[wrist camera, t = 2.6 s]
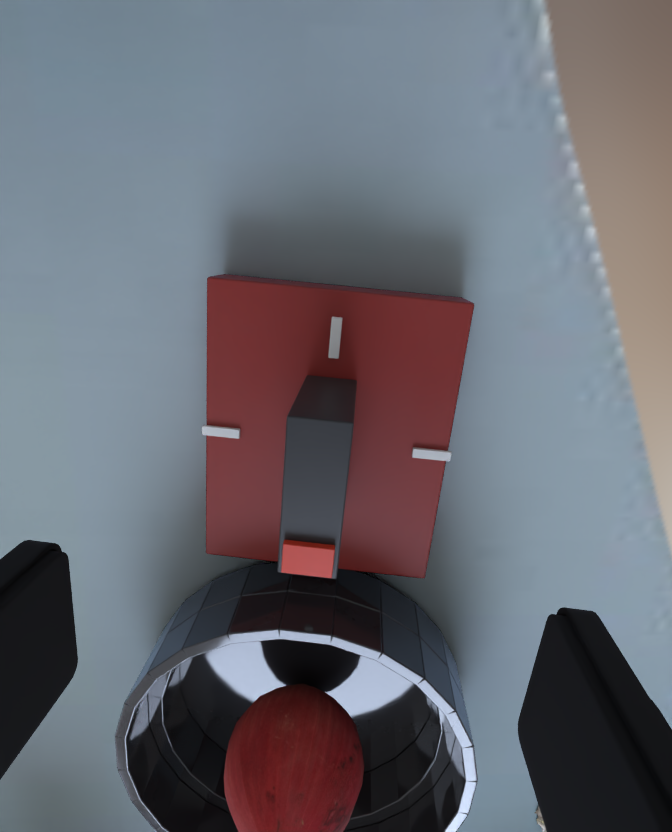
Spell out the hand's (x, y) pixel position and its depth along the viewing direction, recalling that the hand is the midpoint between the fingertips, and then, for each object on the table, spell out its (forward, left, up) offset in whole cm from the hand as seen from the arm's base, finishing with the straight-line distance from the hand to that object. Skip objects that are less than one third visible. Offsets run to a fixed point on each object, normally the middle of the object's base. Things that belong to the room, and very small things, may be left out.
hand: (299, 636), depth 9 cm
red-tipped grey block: (0, 0, -9) cm, 9 cm away
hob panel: (0, 0, -11) cm, 11 cm away
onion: (+14, 0, -11) cm, 18 cm away
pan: (+14, 0, -11) cm, 18 cm away
